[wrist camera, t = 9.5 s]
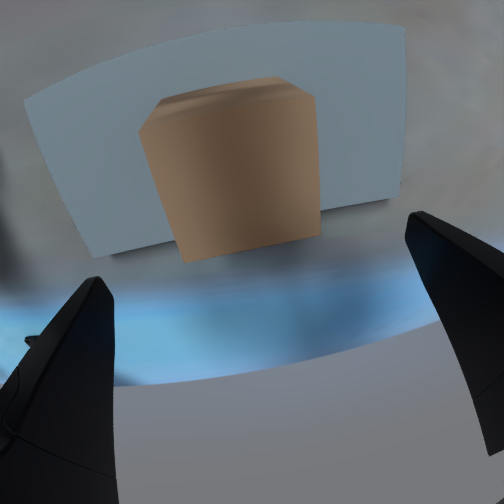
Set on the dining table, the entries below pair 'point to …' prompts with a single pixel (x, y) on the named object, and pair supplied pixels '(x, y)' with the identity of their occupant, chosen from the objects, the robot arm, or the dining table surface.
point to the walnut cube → (236, 166)
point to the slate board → (212, 74)
